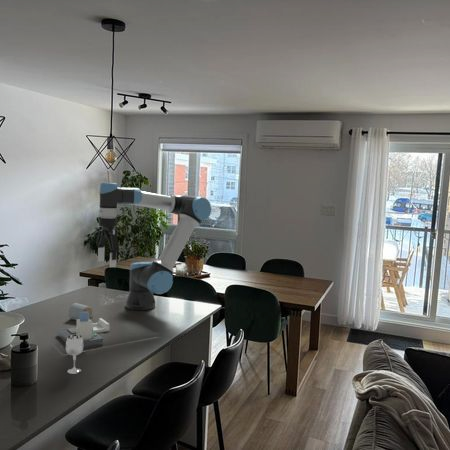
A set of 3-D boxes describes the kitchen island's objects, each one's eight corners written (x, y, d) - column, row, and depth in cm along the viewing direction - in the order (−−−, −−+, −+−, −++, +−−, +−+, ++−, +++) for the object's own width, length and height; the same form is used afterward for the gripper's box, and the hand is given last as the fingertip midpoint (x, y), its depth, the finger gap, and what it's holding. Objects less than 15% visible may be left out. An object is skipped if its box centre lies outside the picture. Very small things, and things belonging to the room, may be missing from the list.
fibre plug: (87, 342, 181) (88, 310, 179) (91, 345, 177) (92, 313, 176) (76, 344, 178) (76, 312, 177) (80, 347, 174) (80, 315, 173)
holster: (101, 325, 200) (101, 318, 200) (109, 332, 193) (109, 323, 193) (82, 328, 195) (82, 320, 195) (90, 335, 188) (90, 326, 188)
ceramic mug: (83, 324, 201) (83, 307, 201) (67, 321, 204) (68, 304, 203) (97, 318, 211) (97, 302, 211) (82, 315, 214) (82, 299, 213)
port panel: (86, 332, 192) (86, 324, 191) (102, 345, 177) (103, 337, 177) (57, 336, 185) (57, 328, 184) (72, 351, 170) (72, 342, 170)
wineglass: (67, 367, 156) (68, 333, 155) (84, 367, 157) (85, 334, 156) (63, 374, 151) (63, 339, 149) (80, 374, 151) (81, 340, 150)
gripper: (89, 214, 209) (88, 259, 211) (111, 220, 189) (109, 270, 191) (105, 214, 213) (104, 258, 216) (127, 220, 194) (126, 268, 196)
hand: (106, 264), depth 203 cm, fingers open, 13 cm apart
